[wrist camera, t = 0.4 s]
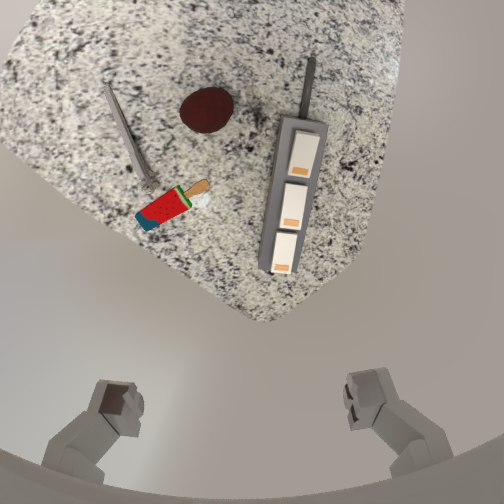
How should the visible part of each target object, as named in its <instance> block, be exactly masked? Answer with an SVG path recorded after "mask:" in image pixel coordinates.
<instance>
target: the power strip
mask: <svg viewBox="0 0 504 504" xmlns="http://www.w3.org/2000/svg"><path fill="white" fill-rule="evenodd" d="M315 66H316V58H314V57H310V58H309V61H308V67H307V74H306V80H305V86H304V92H303V98H302V104H301V110H300V116H299V117H293V116H286V115H281V116H280V123H279V129H278V136H277V142H276V148H275V154H274V161H273V167H272V173H271V179H270V186H269V192H268V198H267V204H266V210H265V216H264V223H263V229H262V235H261V241H260V247H259V253H258V269H263V270H270V269H271V262H272V256H273V249H274V243H275V236H276V231H283V232H292V233H296V234H297V240H296V246H295V251H294V257H293V263H292V268H291V272H294V273H296V271H297V267H298V263H299V259H300V255H301V251H302V247H303V243H304V238H305V234H306V230H307V226H308V221H309V217H310V212H311V208H312V204H313V199H314V194H315V190H316V185H317V181H318V176H319V171H320V166H321V162H322V157H323V152H324V147H325V142H326V137H327V131H328V126H329V125H327V124H325V123H324V122H320V121H315V120H310V119H307V114H308V108H309V102H310V96H311V90H312V84H313V78H314V72H315ZM296 130H298V131H304V132H310V133H315V134H319V136H320V139H319V143H318V147H317V151H316V155H315V159H314V163H313V166H312V170H311V174H310V178H305V177H298V176H291V175H288V174H287V169H288V165H289V160H290V156H291V151H292V146H293V142H294V137H295V132H296ZM285 183H290V184H297V185H304V186H307V187H308V188H307V194H306V201H305V207H304V213H303V219H302V225H301V230H296V229H287V228H280V227H279V221H280V214H281V207H282V200H283V193H284V187H285Z"/></svg>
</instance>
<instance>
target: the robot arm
mask: <svg viewBox="0 0 504 504" xmlns="http://www.w3.org/2000/svg"><path fill="white" fill-rule="evenodd" d="M136 390H137V387H136V385H135V384H134V383H131V382H119V381H111V380H99V381H98V382H97V384H96V387H95V389H94V392H93V395H92V398H91V401H90V403H89V407H88V410H87V411H83V412H82V413H81V414H80V415H79V416H77V417H76V418H75V419H74V420H73V421H72V422H70V423H69V424H68V425H67V426H66V427H65V428H63V429H62V430H61V431H60V432H59V433H58V434H56V435H55V436H54V437H53V438H52V439H51V440H50V441H49V443H48V446H47V448H46V452H45V455H44V458H43V461H42V464H41V465H38V464H35V463H33V462H30V461H28V460H25V459H23V458H20V457H18V456H16V455H13V454H11V453H9V452H7V451H4V450H2V449H0V504H504V434H502V435H500V436H498V437H497V438H494V439H492V440H490V441H488V442H486V443H484V444H482V445H480V446H478V447H476V448H473V449H471V450H469V451H467V452H464V453H462V454H460V455H457V456H455V457H454V456H453V453H452V450H451V447H450V445H449V442H448V440H447V437H446V434H445V431H444V430H443V429H442V428H440V427H439V426H438V425H436V424H435V423H434V422H432V421H431V420H429V419H428V418H427V417H426V416H424V415H423V414H421V413H420V412H419V411H417V410H416V409H415V408H413V407H412V406H411V405H409V404H408V403H407V402H405V401H404V400H399V397H398V394H397V392H396V389H395V386H394V384H393V381H392V379H391V376H390V374H389V371H388V369H387V368H386V367H382V368H378V369H370V370H365V371H360V372H353V373H349V374H348V375H347V384H346V385H345V386H344V390H343V397H344V404H345V407H346V408H347V409H348V410H349V414H348V421H349V424H350V429H351V431H352V430H359V429H365V428H370V427H372V428H371V429H372V430H374V432H375V433H377V434H378V436H379V437H380V438H381V439H383V440H384V442H386V443H387V444H388V445H389V446H390V447H391V448H392V449H393V450H394V451H395V452H396V453H397V454H398V455H399V457H398V458H397V459H396V460H395V461H394V462H393V464H392V465H391V466H390V471H391V476H392V478H391V479H387V480H383V481H379V482H375V483H372V484H367V485H363V486H358V487H353V488H349V489H343V490H337V491H332V492H325V493H318V494H311V495H303V496H294V497H282V498H267V499H203V498H188V497H177V496H168V495H160V494H152V493H145V492H139V491H134V490H128V489H122V488H118V487H113V486H109V485H104V484H103V481H104V475H105V474H104V472H103V471H102V470H101V469H99V468H98V467H97V466H95V465H96V463H97V462H98V461H99V460H100V459H101V458H102V457H103V455H104V454H105V453H106V452H107V451H108V450H109V448H110V447H111V446H112V445H113V444H114V443H115V441H117V439H118V438H119V437H120V436H130V437H138V435H139V431H140V426H141V423H140V421H139V418H140V417H141V416H142V415H143V412H144V400H143V397H142V395H141V394H140V393H139V392H137V391H136ZM119 435H120V436H119Z"/></svg>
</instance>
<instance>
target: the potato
mask: <svg viewBox="0 0 504 504" xmlns="http://www.w3.org/2000/svg"><path fill="white" fill-rule="evenodd" d="M233 108H234V104H233V100H232V97H231V95H230V94H229V93H228V92H227V91H225V90H224V89H222V88H217V87H208V88H204V89H200V90H198V91H196V92H194V93H192V94H191V95H189V96H188V97H187V98H186V99H185V100H184V102H183V103H182V104H181V108H180V111H179V112H180V118H181V120H182V122H183V123H184V124H185V125H187V126H188V127H189V128H190V129H191V130H193V131H196V132H199V133H213V132H216V131H218V130H220V129H221V128H222V127H224V126H225V125H226V124H227V122H228V120H229V119H230V117H231V115H232V113H233Z"/></svg>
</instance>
